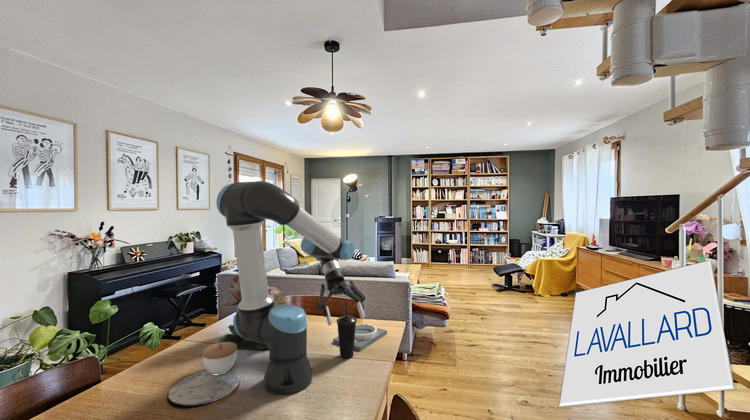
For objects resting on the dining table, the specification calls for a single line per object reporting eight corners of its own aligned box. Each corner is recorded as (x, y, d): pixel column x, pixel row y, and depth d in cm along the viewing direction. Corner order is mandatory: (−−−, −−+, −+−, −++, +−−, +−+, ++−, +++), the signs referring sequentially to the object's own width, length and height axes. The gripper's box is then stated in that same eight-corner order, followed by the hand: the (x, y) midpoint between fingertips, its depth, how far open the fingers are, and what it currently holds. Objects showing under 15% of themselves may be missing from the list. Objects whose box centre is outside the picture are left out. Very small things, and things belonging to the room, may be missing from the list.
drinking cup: (358, 351, 124) (358, 300, 124) (355, 361, 117) (354, 306, 116) (339, 350, 125) (338, 299, 125) (334, 360, 117) (334, 305, 117)
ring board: (360, 351, 125) (360, 342, 125) (332, 342, 132) (332, 334, 132) (387, 333, 142) (387, 325, 141) (361, 327, 149) (361, 319, 149)
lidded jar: (199, 381, 104) (198, 352, 104) (207, 365, 114) (206, 339, 114) (234, 376, 107) (234, 348, 107) (239, 361, 117) (239, 335, 117)
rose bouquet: (284, 350, 125) (284, 274, 125) (210, 350, 126) (209, 274, 125) (301, 326, 151) (300, 262, 151) (239, 326, 152) (238, 262, 151)
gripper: (357, 276, 144) (373, 320, 131) (302, 282, 132) (313, 331, 119) (362, 266, 139) (379, 310, 126) (306, 272, 128) (317, 321, 115)
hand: (347, 320), depth 123 cm, fingers open, 13 cm apart
